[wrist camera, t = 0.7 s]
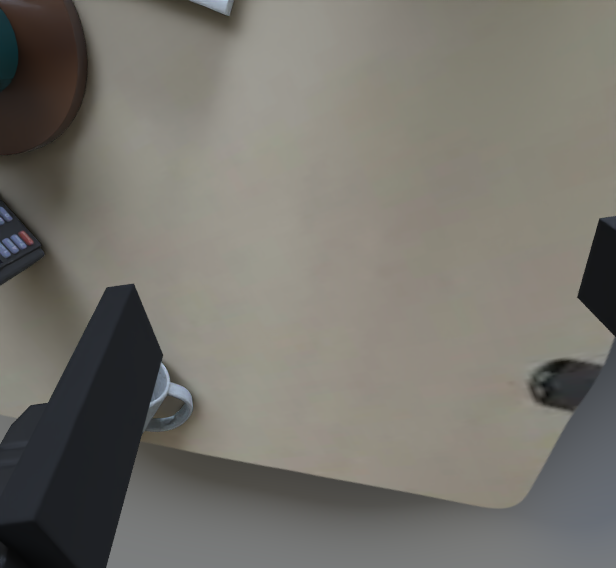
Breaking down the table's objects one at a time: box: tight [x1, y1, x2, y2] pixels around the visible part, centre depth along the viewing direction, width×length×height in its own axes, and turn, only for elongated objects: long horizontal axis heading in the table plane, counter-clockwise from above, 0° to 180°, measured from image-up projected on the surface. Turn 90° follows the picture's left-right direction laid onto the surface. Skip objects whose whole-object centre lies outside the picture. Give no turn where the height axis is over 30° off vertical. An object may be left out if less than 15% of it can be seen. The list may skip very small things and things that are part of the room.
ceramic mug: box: [142, 362, 193, 434], centre depth 42 cm, size 11×8×8 cm
